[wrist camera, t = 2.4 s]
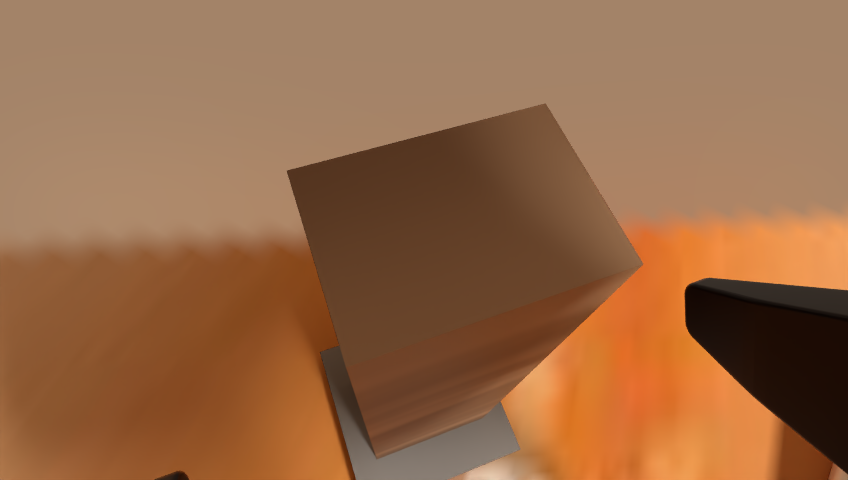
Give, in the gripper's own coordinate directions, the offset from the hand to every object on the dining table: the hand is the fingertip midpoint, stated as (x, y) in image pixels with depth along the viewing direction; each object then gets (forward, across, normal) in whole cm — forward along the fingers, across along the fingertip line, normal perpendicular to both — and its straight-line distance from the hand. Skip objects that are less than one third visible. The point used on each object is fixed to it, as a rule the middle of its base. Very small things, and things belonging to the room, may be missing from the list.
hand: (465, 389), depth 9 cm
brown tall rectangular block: (+7, 0, +5) cm, 9 cm away
